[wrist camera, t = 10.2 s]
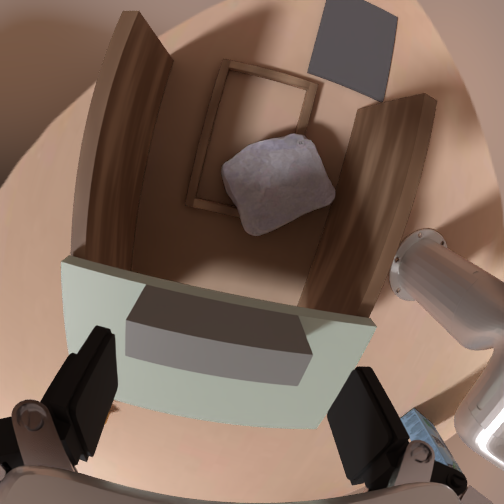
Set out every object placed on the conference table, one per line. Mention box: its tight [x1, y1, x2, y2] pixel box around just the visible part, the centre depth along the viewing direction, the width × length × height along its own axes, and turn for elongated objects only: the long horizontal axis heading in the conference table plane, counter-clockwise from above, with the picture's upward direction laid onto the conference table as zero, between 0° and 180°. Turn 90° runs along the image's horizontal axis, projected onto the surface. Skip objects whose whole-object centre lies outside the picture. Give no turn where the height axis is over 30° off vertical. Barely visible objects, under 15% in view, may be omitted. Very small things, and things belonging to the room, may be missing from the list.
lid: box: [61, 255, 377, 429], centre depth 22 cm, size 28×15×6 cm, turn 76°
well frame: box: [71, 11, 437, 318], centre depth 29 cm, size 28×37×15 cm
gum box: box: [400, 408, 462, 472], centre depth 47 cm, size 20×5×23 cm, turn 45°
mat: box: [307, 0, 398, 103], centre depth 29 cm, size 11×16×1 cm
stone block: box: [221, 133, 336, 236], centre depth 33 cm, size 12×5×10 cm
